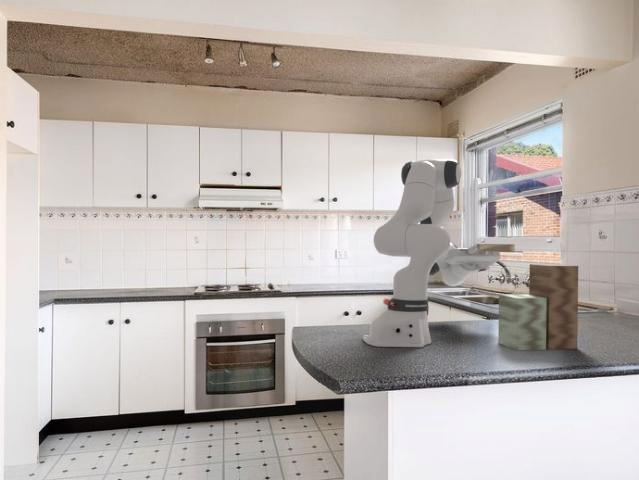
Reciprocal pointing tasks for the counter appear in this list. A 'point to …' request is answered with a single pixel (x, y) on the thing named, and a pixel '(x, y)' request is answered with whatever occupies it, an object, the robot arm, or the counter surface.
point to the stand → (542, 311)
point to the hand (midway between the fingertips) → (482, 246)
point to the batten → (497, 247)
